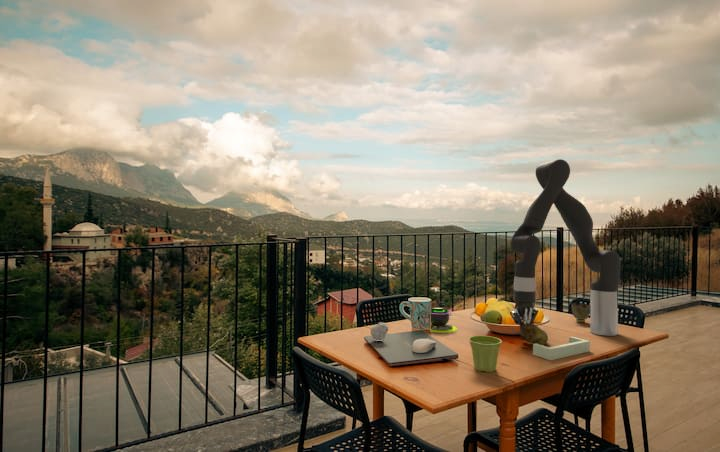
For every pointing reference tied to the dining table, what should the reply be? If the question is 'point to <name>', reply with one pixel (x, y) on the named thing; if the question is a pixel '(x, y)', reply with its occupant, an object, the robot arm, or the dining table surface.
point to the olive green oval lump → (533, 334)
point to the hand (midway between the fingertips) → (523, 335)
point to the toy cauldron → (441, 321)
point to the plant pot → (485, 352)
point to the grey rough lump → (379, 331)
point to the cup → (580, 312)
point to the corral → (562, 349)
